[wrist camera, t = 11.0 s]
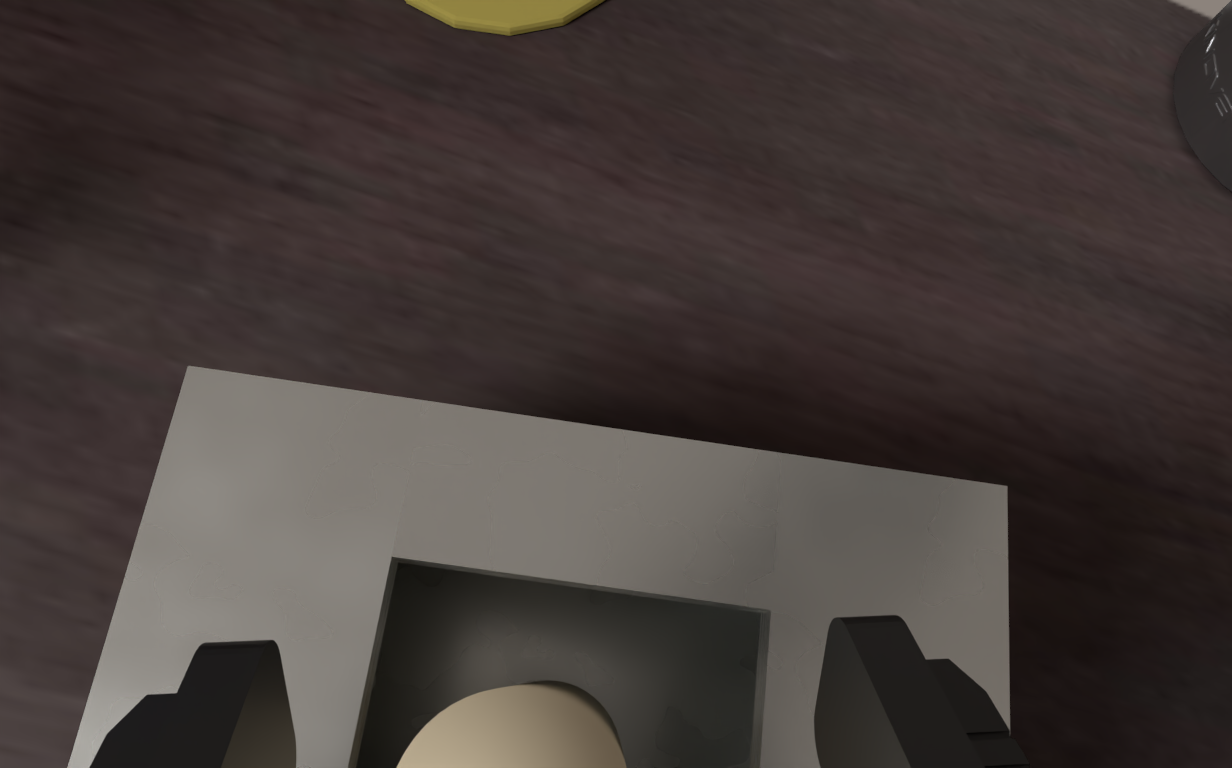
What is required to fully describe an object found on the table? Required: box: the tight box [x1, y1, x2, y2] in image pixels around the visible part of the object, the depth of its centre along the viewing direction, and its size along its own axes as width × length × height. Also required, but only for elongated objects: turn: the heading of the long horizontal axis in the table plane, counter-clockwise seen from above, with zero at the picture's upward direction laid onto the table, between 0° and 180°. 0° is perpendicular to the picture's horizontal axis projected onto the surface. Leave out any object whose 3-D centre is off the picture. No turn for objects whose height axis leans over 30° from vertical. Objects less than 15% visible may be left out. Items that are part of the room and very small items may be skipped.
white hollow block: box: [68, 366, 1010, 768], centre depth 20 cm, size 16×13×10 cm
